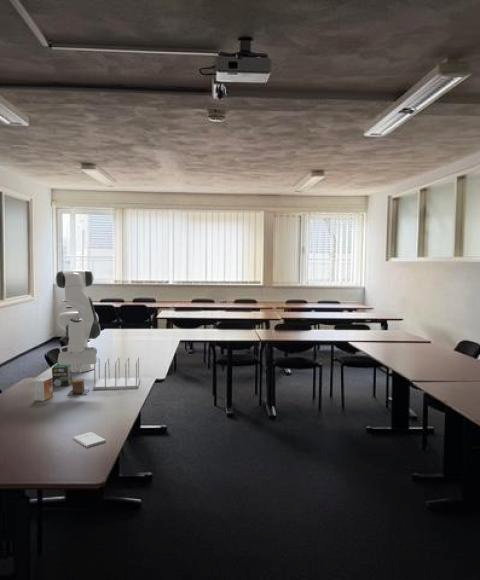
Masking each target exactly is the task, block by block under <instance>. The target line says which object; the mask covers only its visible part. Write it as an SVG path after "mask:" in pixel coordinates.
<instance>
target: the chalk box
mask: <svg viewBox="0 0 480 580" xmlns="http://www.w3.org/2000/svg"><path fill="white" fill-rule="evenodd" d="M51 374H52V375H51V376H52V377H51V378H52V380H53V388H54V387H69V386H70V385H72V384H71V383H72V381H73V375H72V374H73V372H71V365H59V364H58V359H57V360H56V363H55V364H54V365H53V366H52V367H51Z"/></svg>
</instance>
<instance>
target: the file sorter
mask: <svg viewBox="0 0 480 580" xmlns="http://www.w3.org/2000/svg"><path fill="white" fill-rule="evenodd" d="M100 360H101V359H100V358H99V357H98V358H97V362H98V378H97V380H96V366H97V365H96V364H97V362H96V363H95V364H94V370H93V371H94V373H93V374H94V376H93V382H94V383H93V387H92V391H94V390H95V391H98V390H103V391H104V390H127V389H128V390H130V389H133V390H134V389H135V390H137V389H139V387H140V382H141V377H140V357H139V356H137V358H136V360H135V361H136V362H135V377H130V356H128V357H127V359H125V363H124V366H125V367H124V368H125V369H124V371H125V374H124V375H125V377H120V368H121V367H120V357H117V358H116V360H115V361H114V362H115V365H114V378H113V377H112V378H110V376H111V375H110V372H111V371H110V358H109V357H107V358H106V360H105V362H104V378H101V361H100ZM117 362H118V377H117ZM127 362H128V363H127ZM107 365H108V366H107ZM127 365H128V366H127ZM107 367H108V378H107ZM127 367H128V368H127ZM127 373H128V375H127Z"/></svg>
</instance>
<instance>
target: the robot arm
mask: <svg viewBox="0 0 480 580" xmlns="http://www.w3.org/2000/svg"><path fill="white" fill-rule="evenodd" d="M94 278H95V277H94V274H93V272H92V271H91V270H90V269H71V270H69V269H68V270H61V271H58V272H57V273H56V275H55V284H56V285H57V287H58V288H60V289H64V296H65V299H66V301H67V304H68V306H69V307H70V308H71V309H75V310H76V311H64V312H60V313H59V315H58V316H57V317H56V322H57V326H59V328H61V329H62V330H63V331H64V332H65V337H66V338H68V344H66V345H63V346H62V347H60V348H59V353H58V355H57V356H58V357H57V360H58V364H59V365H71V372H72V373H76V374H79V373H85V372H88V371H94V364H95V363H96V364H97V362H98V361H97V359H98V358H97V357H98V356H97V355H98V354H97V353H98V349H97V348H95V346H94V347H93V346H92V347H91V346H89V345H88V344H89V343H88V339H89V340H96V339H97V338H98V337H99V336H100V335H101V326H100V323H99V318H100V317H99V315H98V313H97V312H96V311H95V306H94V303H93V300H92V298H91V297H90V296H88V295H87V294H86V289H85V288H87V287H91V286H92V285H93V283H94Z"/></svg>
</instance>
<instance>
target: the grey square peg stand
mask: <svg viewBox="0 0 480 580" xmlns="http://www.w3.org/2000/svg"><path fill="white" fill-rule="evenodd" d="M90 391H91V389H90V388H88V389H85V388H84V391H83V393H73V390H72V389H71V390H69V392H68V393H67V395H66V396H67V397H73V396H75V397H76V396H87V395H88V394H89V392H90Z"/></svg>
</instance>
